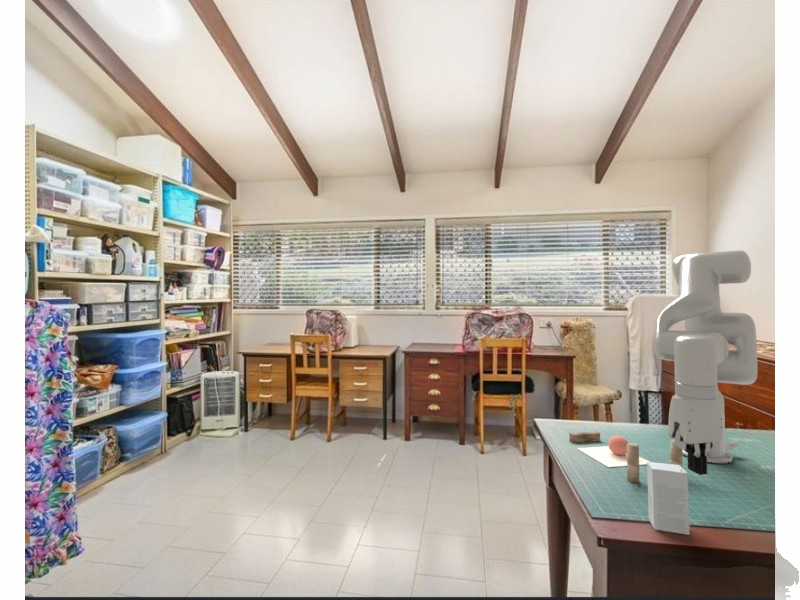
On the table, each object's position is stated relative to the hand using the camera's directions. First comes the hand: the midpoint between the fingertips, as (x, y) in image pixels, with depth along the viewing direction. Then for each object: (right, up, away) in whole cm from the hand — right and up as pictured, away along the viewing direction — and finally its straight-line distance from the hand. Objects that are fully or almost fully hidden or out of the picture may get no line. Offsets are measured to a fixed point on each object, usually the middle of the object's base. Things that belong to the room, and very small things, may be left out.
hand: (697, 471), depth 85 cm
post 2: (+5, -7, +13) cm, 16 cm away
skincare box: (-13, -7, -9) cm, 18 cm away
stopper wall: (-6, -8, +40) cm, 41 cm away
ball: (-2, -5, +28) cm, 28 cm away
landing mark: (-4, -8, +27) cm, 28 cm away
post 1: (-8, -7, +11) cm, 15 cm away
